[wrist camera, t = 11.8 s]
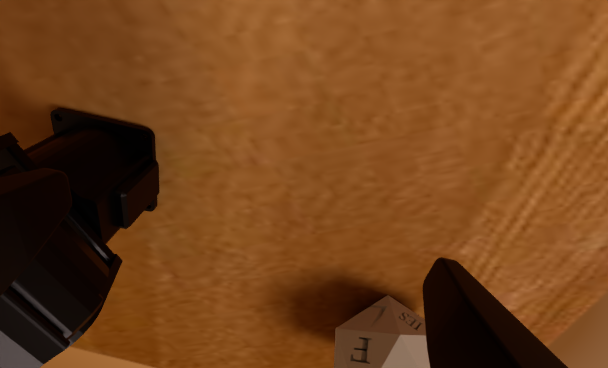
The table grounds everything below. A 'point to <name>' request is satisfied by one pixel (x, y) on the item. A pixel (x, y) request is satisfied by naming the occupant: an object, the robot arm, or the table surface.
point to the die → (382, 338)
